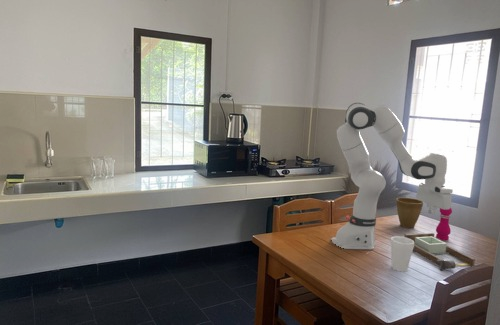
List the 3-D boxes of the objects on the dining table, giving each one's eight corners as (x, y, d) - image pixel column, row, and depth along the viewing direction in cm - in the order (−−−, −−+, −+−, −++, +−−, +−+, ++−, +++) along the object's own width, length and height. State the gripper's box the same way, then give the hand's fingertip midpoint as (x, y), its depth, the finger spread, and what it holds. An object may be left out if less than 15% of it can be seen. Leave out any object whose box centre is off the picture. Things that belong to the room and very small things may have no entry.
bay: (439, 272, 162) (440, 259, 161) (394, 245, 191) (396, 234, 190) (480, 268, 168) (482, 256, 167) (431, 243, 197) (432, 232, 196)
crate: (428, 254, 181) (429, 244, 180) (414, 247, 190) (415, 237, 189) (445, 253, 183) (446, 243, 182) (430, 246, 193) (431, 236, 192)
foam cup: (392, 262, 170) (395, 234, 169) (413, 268, 165) (417, 240, 163) (385, 268, 163) (388, 240, 161) (406, 275, 157) (410, 245, 155)
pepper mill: (446, 236, 210) (450, 202, 207) (451, 241, 202) (456, 205, 199) (432, 235, 210) (437, 201, 207) (437, 240, 203) (442, 204, 200)
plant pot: (422, 225, 228) (425, 200, 226) (418, 232, 216) (421, 205, 213) (396, 220, 236) (399, 196, 234) (391, 226, 223) (394, 200, 221)
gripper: (414, 181, 193) (411, 207, 195) (444, 190, 173) (440, 219, 175) (425, 181, 194) (422, 207, 197) (455, 190, 175) (451, 219, 177)
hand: (431, 213), depth 186 cm, fingers closed
